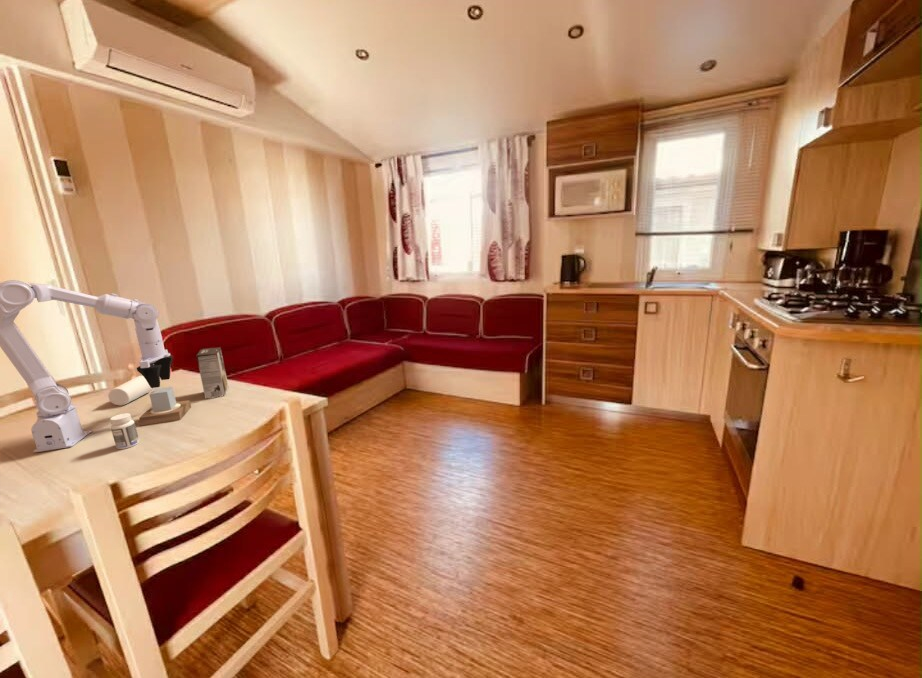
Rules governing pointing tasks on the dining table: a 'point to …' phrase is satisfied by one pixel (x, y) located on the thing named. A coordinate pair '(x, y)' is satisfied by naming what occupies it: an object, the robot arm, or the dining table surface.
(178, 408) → the plinth
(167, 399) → the block
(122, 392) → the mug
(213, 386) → the coffee box
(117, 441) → the pill bottle
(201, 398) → the dining table surface
